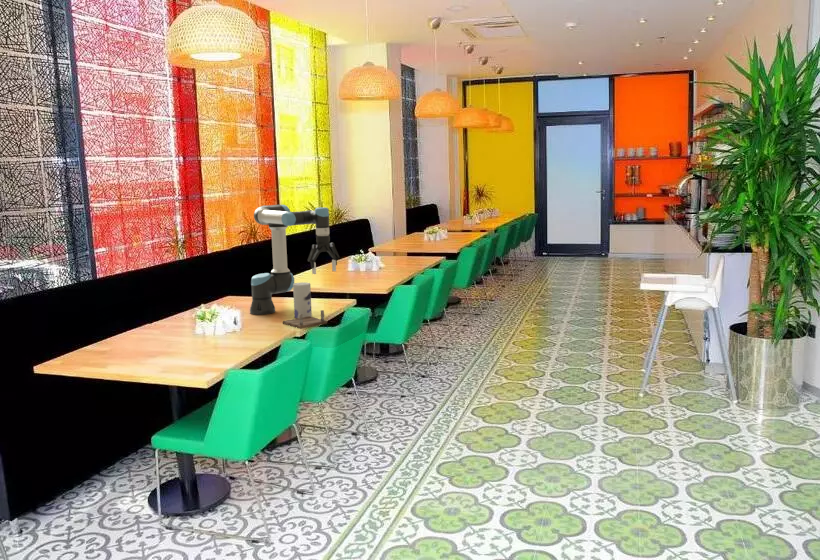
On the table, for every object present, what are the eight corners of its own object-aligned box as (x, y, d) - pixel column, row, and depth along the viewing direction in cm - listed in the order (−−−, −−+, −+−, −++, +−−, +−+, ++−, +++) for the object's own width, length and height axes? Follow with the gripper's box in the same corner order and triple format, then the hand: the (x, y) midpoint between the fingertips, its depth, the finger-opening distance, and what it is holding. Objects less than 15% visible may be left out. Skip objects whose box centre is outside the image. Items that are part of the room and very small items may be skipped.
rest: (282, 323, 414) (282, 310, 413) (309, 318, 425) (309, 306, 424) (299, 328, 400) (299, 315, 399) (327, 323, 412) (326, 310, 411)
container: (310, 318, 426) (308, 284, 422) (293, 318, 426) (291, 285, 423) (312, 315, 435) (311, 282, 432) (296, 315, 436) (294, 282, 433)
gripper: (307, 237, 400) (309, 275, 403) (344, 233, 416) (346, 270, 419) (300, 236, 405) (301, 274, 409) (337, 233, 421) (338, 269, 425)
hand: (324, 272), depth 414 cm, fingers open, 13 cm apart
